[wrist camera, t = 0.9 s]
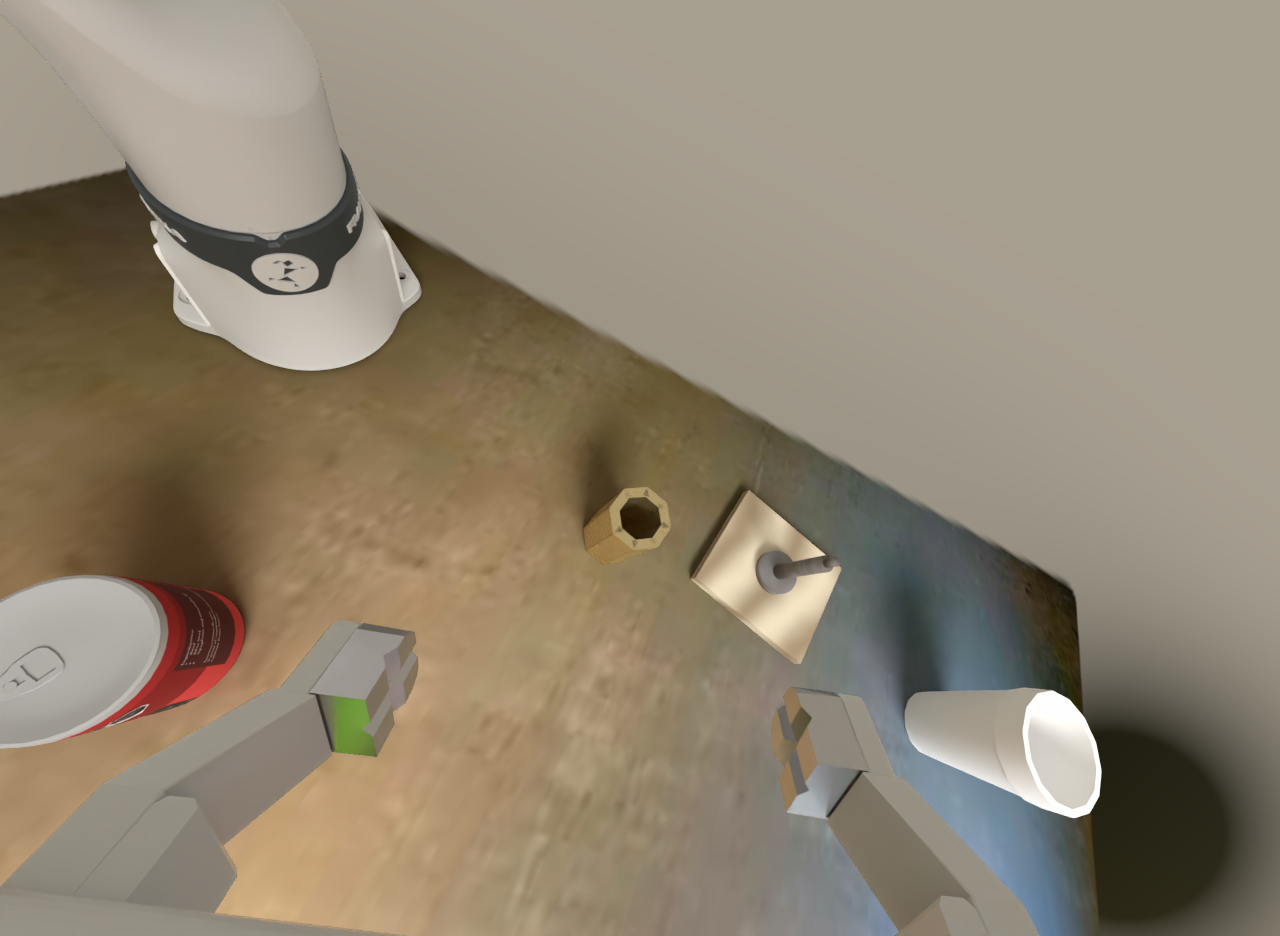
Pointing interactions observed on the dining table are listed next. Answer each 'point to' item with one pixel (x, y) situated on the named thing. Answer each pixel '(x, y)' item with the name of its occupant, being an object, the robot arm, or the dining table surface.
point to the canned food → (107, 653)
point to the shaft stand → (768, 576)
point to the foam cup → (1012, 743)
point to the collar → (627, 526)
